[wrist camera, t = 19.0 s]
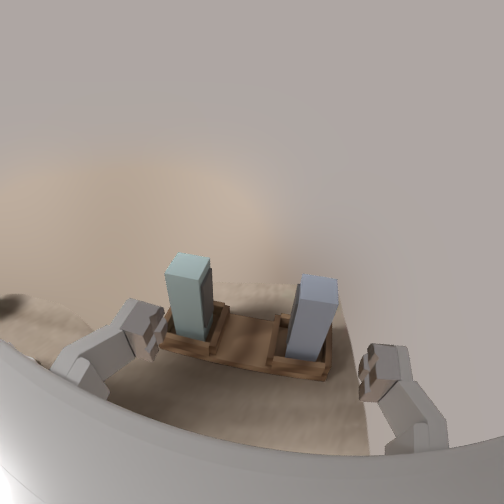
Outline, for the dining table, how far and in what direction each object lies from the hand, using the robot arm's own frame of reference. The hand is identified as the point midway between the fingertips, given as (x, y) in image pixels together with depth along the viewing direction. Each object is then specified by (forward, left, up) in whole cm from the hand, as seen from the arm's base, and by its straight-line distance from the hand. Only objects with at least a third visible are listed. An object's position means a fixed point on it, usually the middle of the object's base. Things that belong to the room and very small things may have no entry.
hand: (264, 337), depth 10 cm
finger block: (+5, +22, -30) cm, 38 cm away
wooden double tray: (-4, +22, -32) cm, 39 cm away
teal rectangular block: (-13, +22, -30) cm, 40 cm away
